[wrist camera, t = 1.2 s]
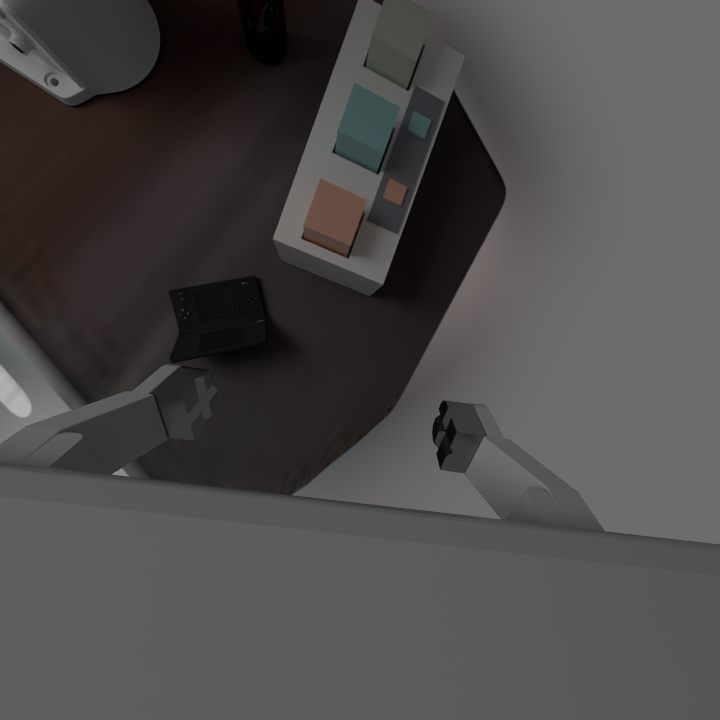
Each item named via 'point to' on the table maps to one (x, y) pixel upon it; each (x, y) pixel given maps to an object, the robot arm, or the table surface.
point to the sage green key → (398, 40)
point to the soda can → (264, 28)
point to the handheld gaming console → (218, 318)
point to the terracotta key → (333, 218)
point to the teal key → (365, 128)
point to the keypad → (381, 190)
